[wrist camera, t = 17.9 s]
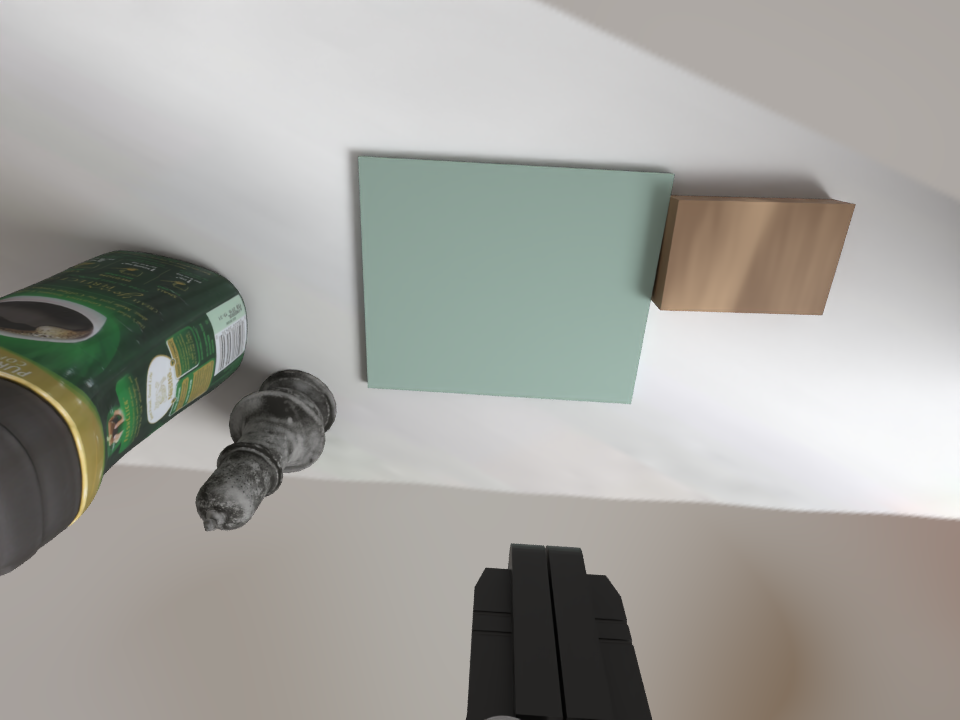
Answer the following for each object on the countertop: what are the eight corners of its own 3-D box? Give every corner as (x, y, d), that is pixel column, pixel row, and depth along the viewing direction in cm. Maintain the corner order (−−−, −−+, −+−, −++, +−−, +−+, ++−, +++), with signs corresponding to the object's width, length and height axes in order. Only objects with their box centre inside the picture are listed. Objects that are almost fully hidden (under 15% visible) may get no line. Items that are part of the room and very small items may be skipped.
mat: (671, 173, 28) (674, 174, 28) (628, 399, 34) (630, 403, 34) (360, 156, 29) (357, 156, 28) (370, 383, 34) (367, 387, 34)
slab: (664, 194, 29) (827, 198, 29) (648, 297, 32) (798, 301, 32) (678, 199, 27) (855, 204, 27) (660, 310, 30) (822, 315, 29)
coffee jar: (103, 352, 34) (-286, 574, 17) (96, 234, 31) (-389, 363, 14) (251, 386, 35) (15, 632, 18) (259, 274, 32) (-19, 443, 15)
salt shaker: (280, 451, 37) (187, 588, 26) (237, 380, 35) (116, 497, 24) (355, 429, 36) (291, 561, 25) (316, 354, 34) (228, 464, 23)
